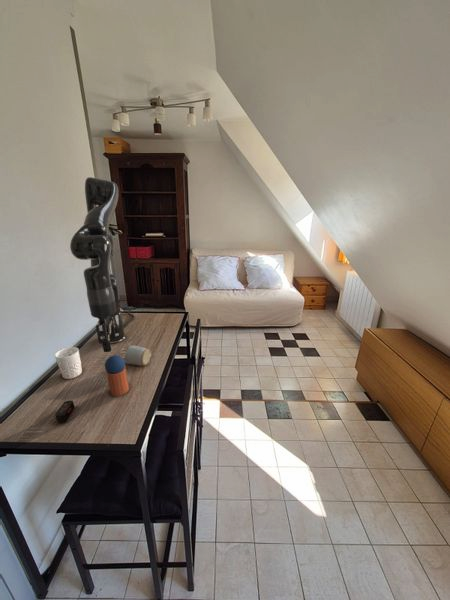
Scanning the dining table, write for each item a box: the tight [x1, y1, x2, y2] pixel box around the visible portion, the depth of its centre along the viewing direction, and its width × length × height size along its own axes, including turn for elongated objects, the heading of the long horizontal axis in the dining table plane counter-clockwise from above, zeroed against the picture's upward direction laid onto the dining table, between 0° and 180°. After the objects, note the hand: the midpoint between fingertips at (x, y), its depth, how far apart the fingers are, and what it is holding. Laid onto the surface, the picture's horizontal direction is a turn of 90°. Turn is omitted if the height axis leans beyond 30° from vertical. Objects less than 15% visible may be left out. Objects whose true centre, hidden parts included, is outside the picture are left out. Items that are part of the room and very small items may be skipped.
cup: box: [105, 366, 130, 397], centre depth 89 cm, size 6×6×9 cm
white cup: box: [54, 346, 83, 380], centre depth 98 cm, size 8×8×10 cm
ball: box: [104, 354, 126, 374], centre depth 87 cm, size 6×6×6 cm
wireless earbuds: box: [54, 400, 76, 424], centre depth 79 cm, size 5×7×3 cm, turn 6°
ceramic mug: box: [124, 345, 152, 367], centre depth 106 cm, size 11×8×8 cm
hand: (110, 344), depth 84 cm, fingers open, 8 cm apart
